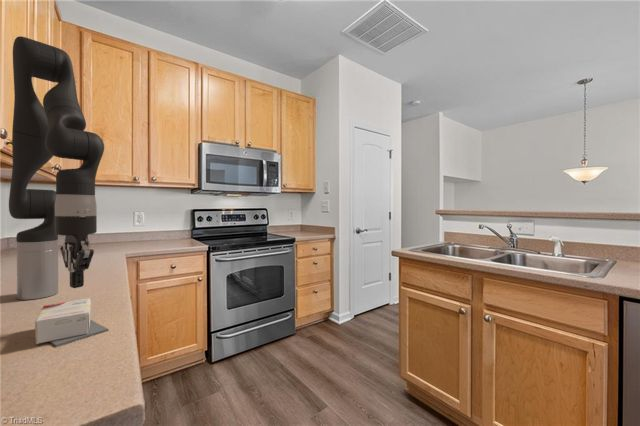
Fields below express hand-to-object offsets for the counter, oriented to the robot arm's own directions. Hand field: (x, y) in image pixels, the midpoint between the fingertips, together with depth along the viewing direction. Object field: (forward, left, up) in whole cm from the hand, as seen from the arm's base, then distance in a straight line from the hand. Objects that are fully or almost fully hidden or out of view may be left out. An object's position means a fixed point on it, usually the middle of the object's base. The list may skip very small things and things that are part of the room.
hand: (76, 286), depth 68 cm
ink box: (-3, -1, -6) cm, 7 cm away
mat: (+4, -2, -9) cm, 10 cm away
